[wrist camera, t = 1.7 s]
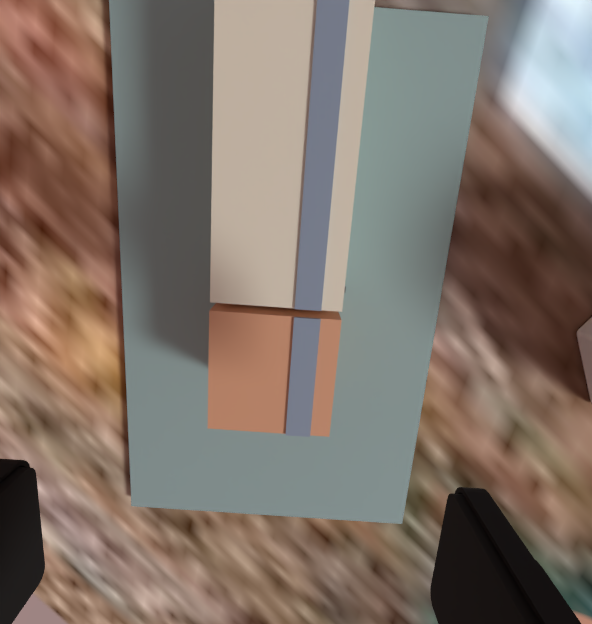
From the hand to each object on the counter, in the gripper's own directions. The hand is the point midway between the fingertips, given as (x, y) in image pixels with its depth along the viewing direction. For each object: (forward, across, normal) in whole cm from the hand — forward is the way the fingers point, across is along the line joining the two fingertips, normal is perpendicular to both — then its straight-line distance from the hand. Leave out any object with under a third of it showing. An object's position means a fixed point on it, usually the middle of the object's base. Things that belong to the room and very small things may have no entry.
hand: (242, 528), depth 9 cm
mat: (+13, 0, -3) cm, 13 cm away
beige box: (+12, 0, -10) cm, 15 cm away
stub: (+12, 0, -1) cm, 12 cm away
